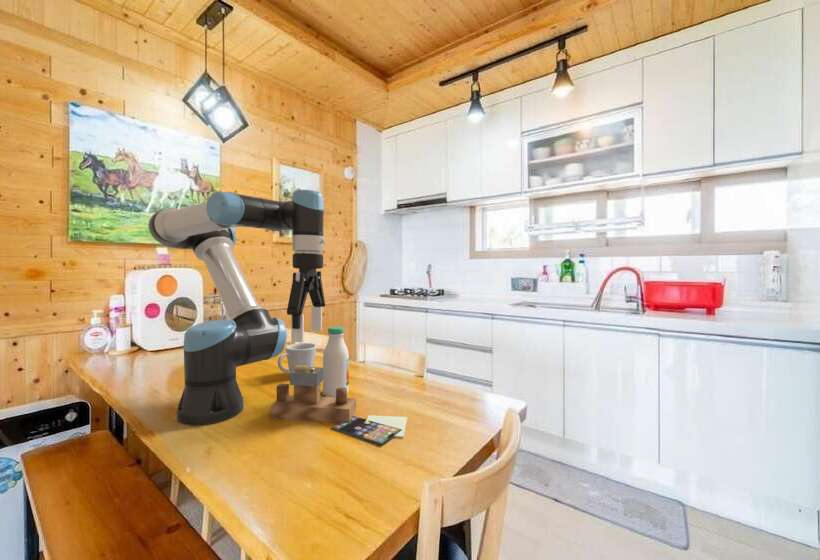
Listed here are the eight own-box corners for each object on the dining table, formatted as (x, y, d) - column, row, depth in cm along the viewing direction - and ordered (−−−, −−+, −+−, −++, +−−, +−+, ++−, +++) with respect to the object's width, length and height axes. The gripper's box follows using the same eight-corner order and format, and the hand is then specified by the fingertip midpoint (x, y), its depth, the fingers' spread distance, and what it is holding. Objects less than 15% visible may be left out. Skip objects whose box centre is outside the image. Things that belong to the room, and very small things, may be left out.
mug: (323, 373, 126) (323, 345, 126) (288, 385, 114) (288, 354, 113) (303, 368, 132) (303, 341, 131) (267, 379, 119) (267, 349, 119)
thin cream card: (360, 435, 81) (360, 433, 81) (368, 416, 91) (368, 415, 91) (403, 437, 81) (403, 436, 81) (407, 418, 90) (407, 417, 90)
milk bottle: (342, 399, 103) (343, 330, 102) (318, 396, 104) (318, 329, 103) (352, 389, 110) (352, 325, 109) (329, 387, 112) (329, 324, 111)
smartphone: (352, 418, 91) (353, 413, 91) (402, 433, 84) (402, 428, 83) (330, 430, 84) (330, 425, 84) (381, 448, 77) (381, 443, 77)
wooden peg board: (271, 418, 89) (270, 385, 89) (283, 407, 96) (283, 376, 96) (349, 422, 88) (349, 389, 87) (355, 411, 95) (356, 379, 94)
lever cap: (289, 385, 89) (289, 368, 89) (298, 378, 94) (297, 362, 94) (317, 386, 89) (317, 369, 89) (323, 379, 94) (323, 363, 94)
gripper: (304, 251, 77) (304, 348, 79) (336, 254, 102) (335, 327, 103) (271, 251, 78) (271, 346, 79) (310, 253, 103) (310, 326, 104)
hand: (307, 336), depth 91 cm, fingers open, 13 cm apart
